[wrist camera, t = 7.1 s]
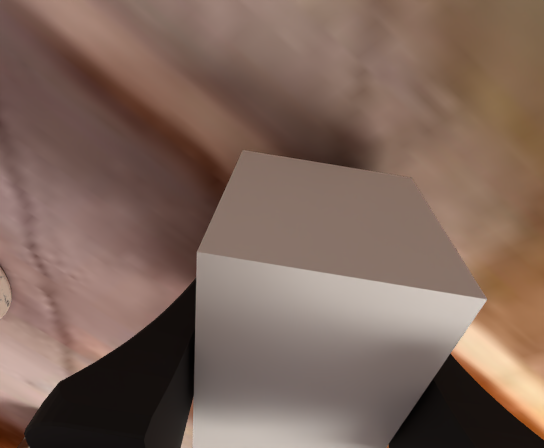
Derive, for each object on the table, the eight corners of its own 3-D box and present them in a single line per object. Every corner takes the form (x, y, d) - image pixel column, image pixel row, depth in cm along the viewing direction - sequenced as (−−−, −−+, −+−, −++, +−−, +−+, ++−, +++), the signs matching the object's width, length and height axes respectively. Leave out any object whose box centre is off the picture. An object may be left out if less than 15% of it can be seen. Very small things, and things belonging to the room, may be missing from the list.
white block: (411, 177, 12) (486, 299, 7) (344, 345, 17) (360, 485, 12) (242, 149, 12) (196, 252, 7) (226, 326, 17) (192, 458, 12)
